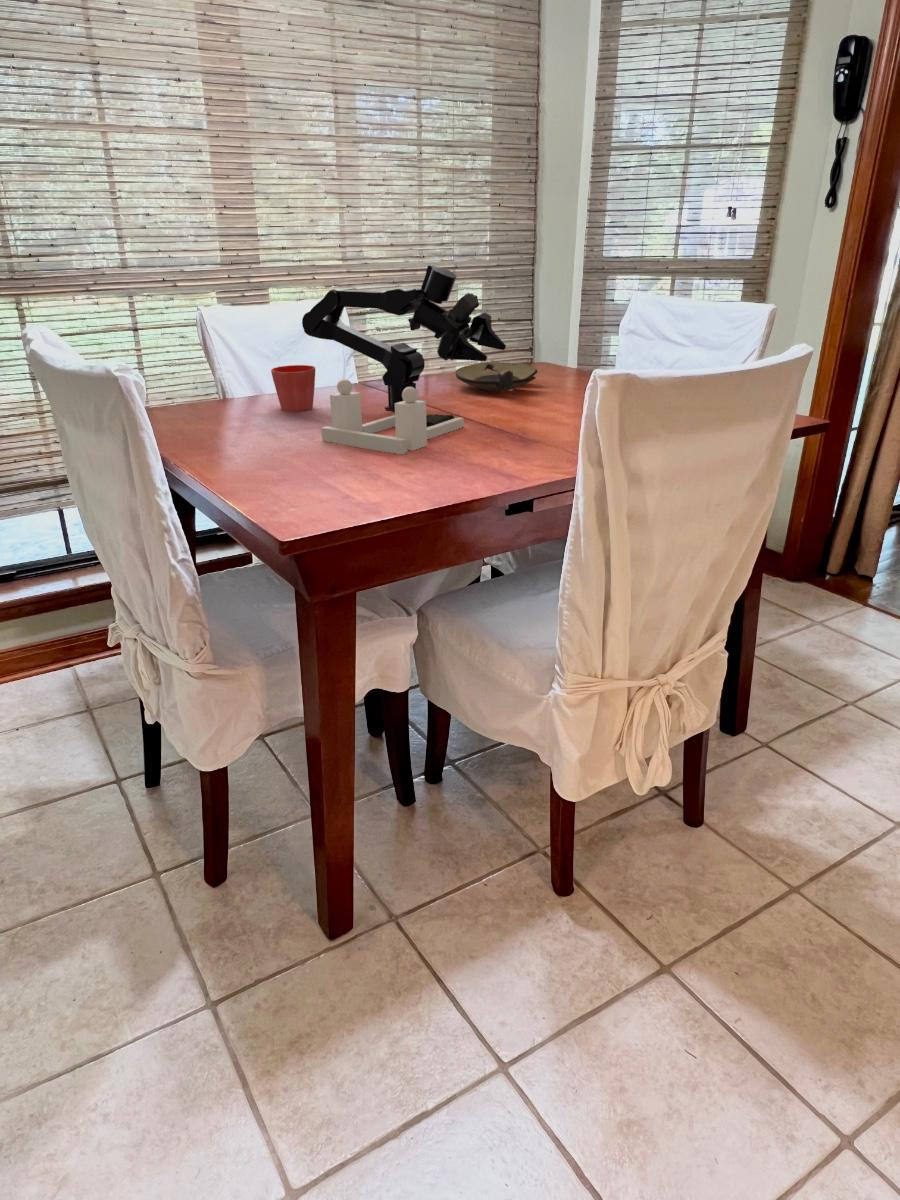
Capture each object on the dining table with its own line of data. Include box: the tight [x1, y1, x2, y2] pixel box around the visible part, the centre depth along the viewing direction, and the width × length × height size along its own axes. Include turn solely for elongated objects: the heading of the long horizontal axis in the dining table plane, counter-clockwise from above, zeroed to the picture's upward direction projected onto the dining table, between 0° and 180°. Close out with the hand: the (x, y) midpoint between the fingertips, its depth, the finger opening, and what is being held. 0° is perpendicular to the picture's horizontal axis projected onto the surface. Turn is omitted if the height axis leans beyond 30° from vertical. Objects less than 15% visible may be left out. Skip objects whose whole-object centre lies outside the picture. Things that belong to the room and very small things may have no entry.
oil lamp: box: [455, 361, 538, 392], centre depth 219 cm, size 22×30×8 cm
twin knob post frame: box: [321, 378, 465, 456], centre depth 172 cm, size 21×26×12 cm
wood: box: [426, 413, 455, 427], centre depth 180 cm, size 22×7×3 cm, turn 161°
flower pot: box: [270, 364, 316, 412], centre depth 199 cm, size 11×11×10 cm
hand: (496, 353), depth 183 cm, fingers open, 9 cm apart
